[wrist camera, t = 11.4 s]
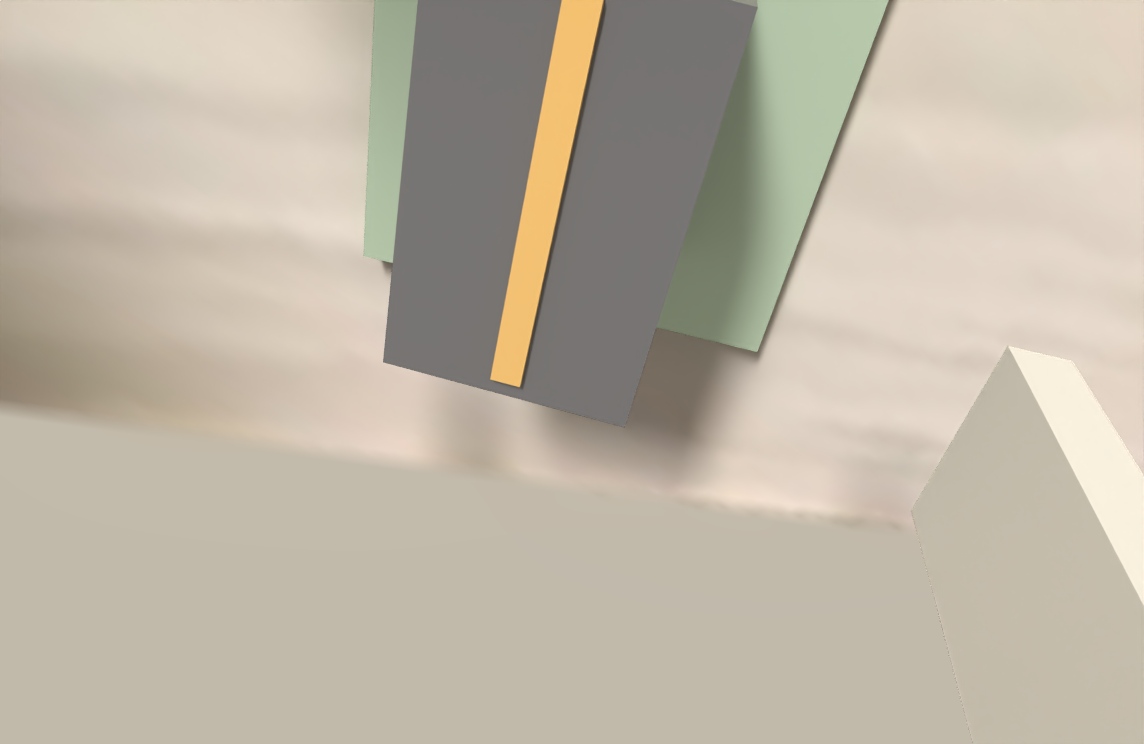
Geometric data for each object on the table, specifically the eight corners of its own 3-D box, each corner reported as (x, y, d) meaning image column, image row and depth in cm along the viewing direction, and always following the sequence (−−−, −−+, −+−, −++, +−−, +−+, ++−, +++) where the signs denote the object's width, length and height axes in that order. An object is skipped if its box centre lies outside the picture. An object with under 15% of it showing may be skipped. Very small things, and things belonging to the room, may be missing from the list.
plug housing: (534, -115, 19) (422, -79, 12) (749, -59, 19) (757, 9, 12) (482, 209, 23) (380, 366, 17) (656, 255, 23) (623, 432, 16)
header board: (403, -287, 18) (330, -311, 15) (940, -167, 18) (987, -164, 15) (375, 241, 26) (322, 303, 22) (756, 334, 25) (759, 411, 22)
